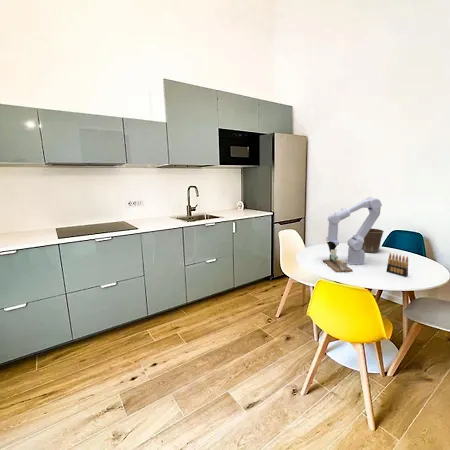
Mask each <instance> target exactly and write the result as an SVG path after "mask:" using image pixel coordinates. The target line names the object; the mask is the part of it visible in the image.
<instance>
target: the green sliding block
mask: <svg viewBox="0 0 450 450" xmlns="http://www.w3.org/2000/svg"><path fill="white" fill-rule="evenodd" d="M330 254H331V259H332V260H333V261H337V260H336V259H335V257H336V258H337V259H338V260H339V256H338V255H337V249H336V248H335V249H332V250H331V253H330Z"/></svg>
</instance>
